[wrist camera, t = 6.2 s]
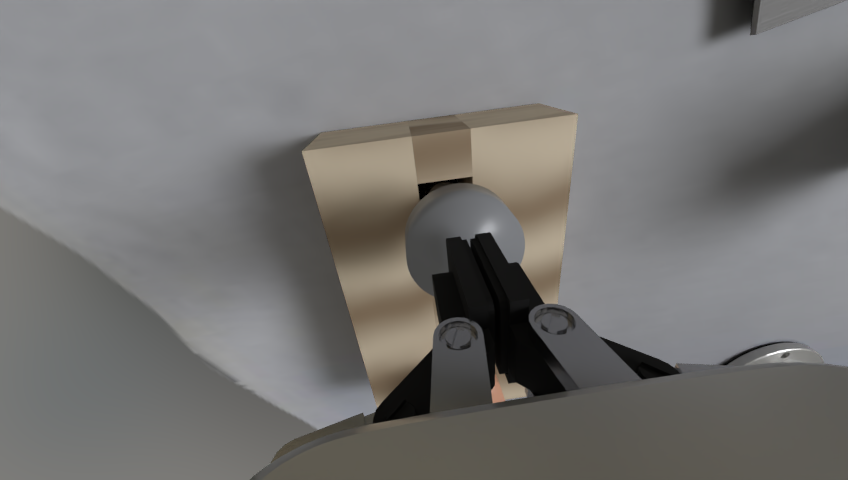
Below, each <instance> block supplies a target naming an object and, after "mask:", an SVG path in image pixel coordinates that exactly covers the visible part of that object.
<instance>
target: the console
mask: <svg viewBox="0 0 848 480" xmlns="http://www.w3.org/2000/svg"><path fill="white" fill-rule="evenodd" d="M577 119H578V114H576V113H573V112H569V111H565V110H561V109H558V108H554V107H550V106H547V105H543V104H539V103H538V104H531V105H524V106H516V107H509V108H501V109H494V110H486V111H479V112H471V113H464V114H457V115H449V116H442V117H434V118H427V119H419V120H412V121H404V122H397V123H389V124H382V125H375V126H367V127H360V128H352V129H345V130H337V131H330V132H322V133H320V134H319V135H318V136H317V137H316V138H315V139H314V140H313V141H312V142H311V143H310V144H309V145H308V146H307V147H306V148H305V149H304V150H303V151H302V154H303V157H304V161H305V164H306V168H307V171H308V174H309V178H310V181H311V185H312V188H313V191H314V195H315V198H316V202H317V205H318V208H319V212H320V215H321V218H322V222H323V225H324V229H325V232H326V235H327V239H328V242H329V246H330V249H331V252H332V256H333V259H334V263H335V266H336V269H337V273H338V276H339V280H340V283H341V286H342V290H343V293H344V296H345V300H346V303H347V307H348V310H349V313H350V317H351V320H352V324H353V327H354V330H355V334H356V337H357V341H358V344H359V347H360V351H361V354H362V358H363V361H364V364H365V368H366V371H367V374H368V378H369V381H370V385H371V388H372V391H373V395H374V398H375V402H376V405H377V408H378V407H379V405H380V404H381V403H382V402H383V400H384V399H385V398H386V397H387V396H388V395H389V394H390V393H391V392H392V391H393V390H394V389H395V388H396V387H397V386H398V385H399V384H400V383H401V381H402V380H403V379H404V378H405V377H406V376H407V375H408V374H409V373H410V372H411V371H412V370H413V369H414V368H415V367H416V366H417V365H418V364H419V363H420V361H421V360H422V359H423V358H424V357H425V356H426V355H427V354H428V353H429V352H430V351H431V350H432V349H433V334H434V331H435V329H436V327H437V326H438V325H439V321H438V316H437V310H436V304H435V297H434V296H432V295H430V294H428V293H427V292H425V291H424V290H422V289H421V288H420V287H419V286H418V285H417V284H416V282H415V281H414V280H413V278H412V276H411V275H410V272H409V270H408V266H407V260H406V247H405V228H406V223H407V220H408V218H409V216H410V214H411V212H412V210H413V209H414V207H415V206H416V205H417V204H418V202H419V201H420V199H419V191H418V184H422V183H429V182H436V181H443V180H451V179H458V183H470V184H476V185H479V186H482V187H485V188H487V189H489V190H491V191H492V192H494V193H495V194H496V195H497V196H498V197H499V198H500V199H501V200H502V201H503V202H504V204H505V205H506V206H507V207H508V208H509V210H510V211H511V212H512V213H513V215H514V216H515V217H516V219H517V220H518V221H519V223H520V225H521V227H522V230H523V233H524V238H525V251H524V256H523V259H522V262H521V264H520V266H521V268H522V269H523V271H524V272H525V274H526V275H527V277H528V278H529V280H530V282H531V283H532V285H533V286H534V288H535V289H536V291H537V293H538V294H539V296H540V297H541V299H542V300H543V302H544V303H545V304H557V302H558V293H559V284H560V275H561V266H562V256H563V247H564V238H565V229H566V220H567V211H568V202H569V192H570V183H571V174H572V165H573V156H574V147H575V137H576V128H577ZM495 374H496V375H497V378H498V381H499V384H500V387H501V390H502V393H503V396H504V399H505V400H506V399H513V398H519V397H526V393H525V387H523V386H521V385H520V384H518V383H510V384H508V381H507V379H506V376H505V374H499V372H498V369H497V367H496V364H495Z"/></svg>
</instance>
